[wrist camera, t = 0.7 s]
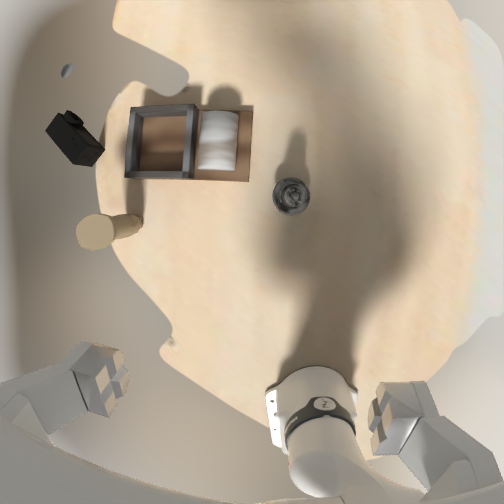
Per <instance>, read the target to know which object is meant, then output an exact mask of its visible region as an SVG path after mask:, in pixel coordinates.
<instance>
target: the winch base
mask: <svg viewBox="0 0 504 504" xmlns="http://www.w3.org/2000/svg"><path fill="white" fill-rule="evenodd" d="M252 120H253V111H224V110H198V108H197V107H196V106H195V105H194V104H178V105H157V106H142V107H131V110H130V118H129V127H128V137H127V148H126V160H125V175H124V178H132V179H180V180H215V181H239V182H249V169H250V152H251V136H252Z"/></svg>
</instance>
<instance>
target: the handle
mask: <svg viewBox="0 0 504 504" xmlns="http://www.w3.org/2000/svg"><path fill="white" fill-rule="evenodd" d="M141 220H142V219H141V217H137V216H135V215H132V214H122V215H117V216H113V217H111V216H109V215H105V214H94V215H90V216H87V217H85V218H84V219H83V220H82V221H81V222H80V223H79V224H78V225H77V228H76V235H77V239H78V242H79V244H80V246H81V247H83V248H86V249H88V250H97V249H101V248H105V247H107V246H108V245H110V244H111V243H112V242H113V241H114V240H115V239H121V238H125V237H129V236H131V235H133V234H135V233H137V232H138V230H139V229H140V228H142V227H143V224H142V222H141Z"/></svg>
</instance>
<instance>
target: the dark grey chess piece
mask: <svg viewBox="0 0 504 504" xmlns="http://www.w3.org/2000/svg"><path fill="white" fill-rule="evenodd" d="M309 200H310V193H309V190H308V187H307V186H306V185H305V183H303V182H302V181H301V180H299V179H296V178H286V179H283V180H281V181H280V182H279V183H278V184H277V185H276V186H275V188H274V190H273V202H274V204H275V206H276V208H277V209H278V210H279V211H281V212H282V213H284V214H288V215H296V214H299V213H301V212H302V211H304V210H305V208H306V207H307V206H308V203H309Z"/></svg>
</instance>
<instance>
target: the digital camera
mask: <svg viewBox="0 0 504 504" xmlns="http://www.w3.org/2000/svg"><path fill="white" fill-rule="evenodd" d="M83 124H84V123H83V121H82V120H81V119H80V118H79V117H78V116H77V115H76V114H74V113H72V112H71V111H68V110H67V111H66V112H65V114H64V115H63V114H60V113H58V114H57V115H56V116H55V118H54V119H53V121H52V122H51V123H50V125H49V126H48V128H47V129H46V132H47V134H48V135H49V136H50V137H51V138H52V140H53V141H54V142H55V143H56V145H57V146H58V147H59V148H60V149H61V151H62V152H63V153H64V154H65V155H66V157H67V158H68V159H69V160H70V161H71V162H72V163H73V164H75V165H83V166H90V167H92V166H93V165H94V163H95V162H96V161H97V160H98V158H99V157H100V156H101V155H102V153H103V152H104V151H105V149H104V148H103V147H102V146H101V145H100V144H99V143H98V141H96V139H95V138H94V137H93V136H92V135H91V134H90V133H89V132H88V131H87V130H86V129H85V127H83Z"/></svg>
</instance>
